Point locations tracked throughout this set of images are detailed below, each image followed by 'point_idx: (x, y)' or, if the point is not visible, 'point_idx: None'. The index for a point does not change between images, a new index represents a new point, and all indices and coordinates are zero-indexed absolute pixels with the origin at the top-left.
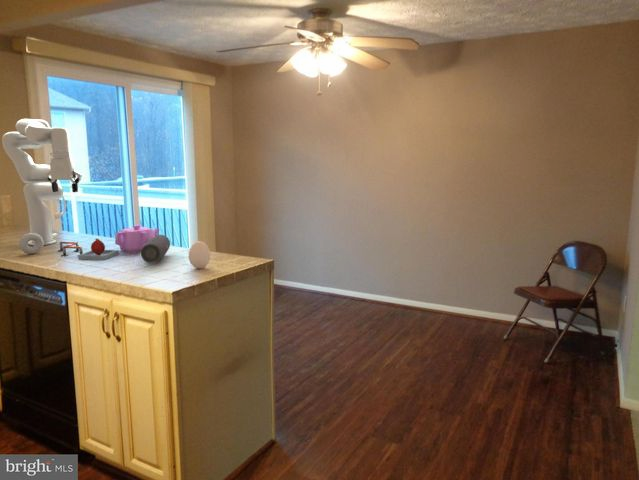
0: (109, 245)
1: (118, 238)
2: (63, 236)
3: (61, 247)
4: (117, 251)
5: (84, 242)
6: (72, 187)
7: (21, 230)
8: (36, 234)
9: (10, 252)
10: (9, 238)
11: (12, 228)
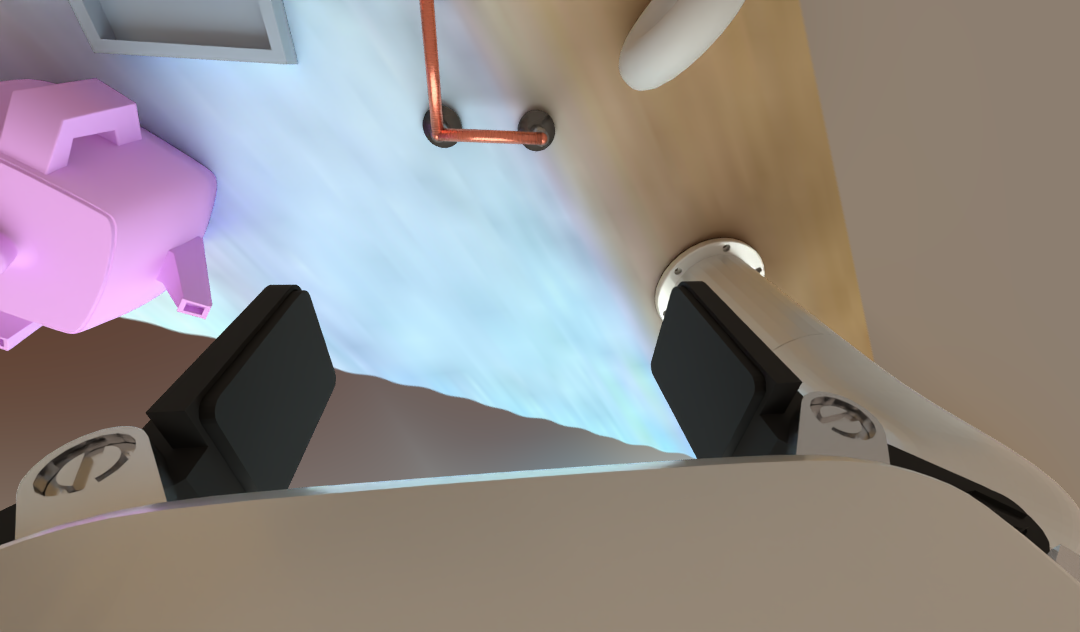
0: (379, 281)
1: (52, 91)
2: None
3: (534, 127)
4: (88, 32)
5: (537, 325)
6: (238, 337)
7: None
8: (671, 33)
9: (786, 64)
10: None
11: None
